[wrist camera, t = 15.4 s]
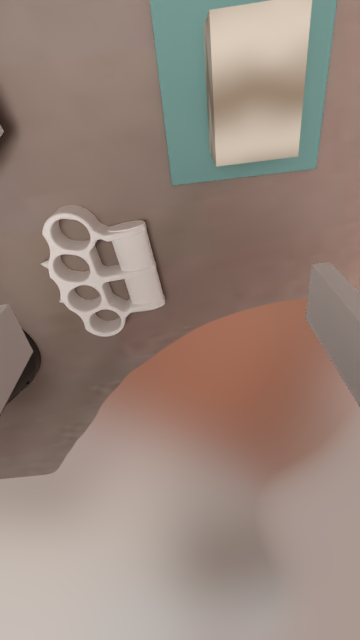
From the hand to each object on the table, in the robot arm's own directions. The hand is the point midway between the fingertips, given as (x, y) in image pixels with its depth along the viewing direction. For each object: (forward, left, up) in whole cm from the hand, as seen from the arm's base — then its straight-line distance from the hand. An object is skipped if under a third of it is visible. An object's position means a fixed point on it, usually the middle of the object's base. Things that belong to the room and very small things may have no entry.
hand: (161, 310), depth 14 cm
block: (+8, +7, -27) cm, 29 cm away
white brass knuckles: (-11, -11, -28) cm, 32 cm away
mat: (+8, +7, -27) cm, 29 cm away
